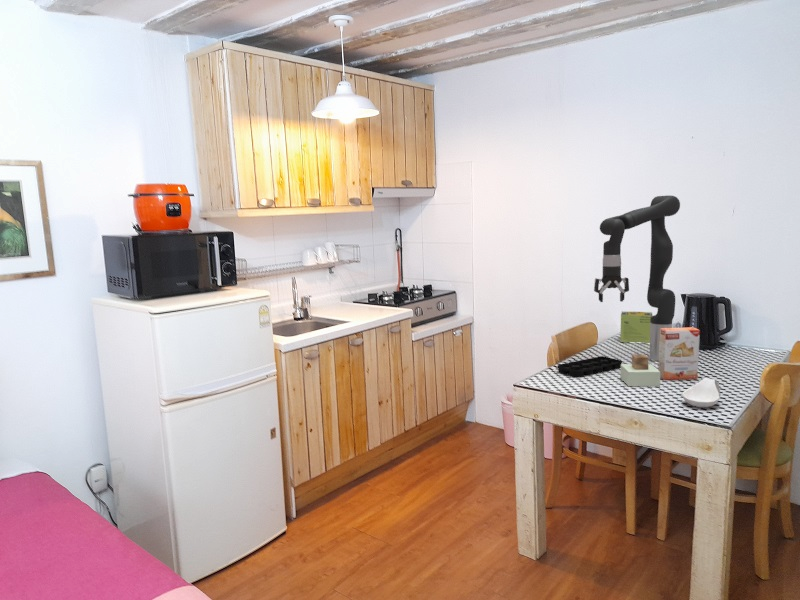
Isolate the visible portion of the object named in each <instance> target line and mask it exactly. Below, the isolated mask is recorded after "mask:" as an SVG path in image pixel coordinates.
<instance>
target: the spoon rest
mask: <svg viewBox="0 0 800 600" xmlns="http://www.w3.org/2000/svg"><path fill="white" fill-rule="evenodd" d="M720 394H721V389H720V384H719V382H718V380H717V379H716V378H709V377H703V378H702V379H701V380H699V381H698V382H697V383H695V384H693V385H692V386H691V387H689V388H687V389H686V390H684V391H683V392H682V393H681V397H682V398H683V400H684V401H685V403H687V404H689V405H691V406H693V407H695V406H696V408H701V407H706V408H710V407H713V406H715V405H716V404H717V403H718V401H719V400H720Z"/></svg>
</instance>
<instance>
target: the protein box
mask: <svg viewBox="0 0 800 600" xmlns="http://www.w3.org/2000/svg"><path fill="white" fill-rule="evenodd" d="M651 316H653V312H652V311H626V310H625V311H621V314H620V335H619V336H620V342H644V343H650V318H651Z"/></svg>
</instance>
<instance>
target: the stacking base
mask: <svg viewBox="0 0 800 600" xmlns="http://www.w3.org/2000/svg"><path fill="white" fill-rule="evenodd" d="M620 380H621V381H622V382H623V381H624V382H625V383H626V384H627V385H628V386H658V387H660V386H661V377H660V371H659V370H658V368H656V367H655V366H654V365H653V364H651V363H648V370H635V369H634V368H633V367H632V363H631V364H629V363H628V364H626V363H625V364H623V363H622V364H621V369H620ZM624 382H623V383H624ZM625 383H624V384H625ZM626 384H625V385H626ZM627 385H626V386H627ZM658 387H657V388H658Z"/></svg>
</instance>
